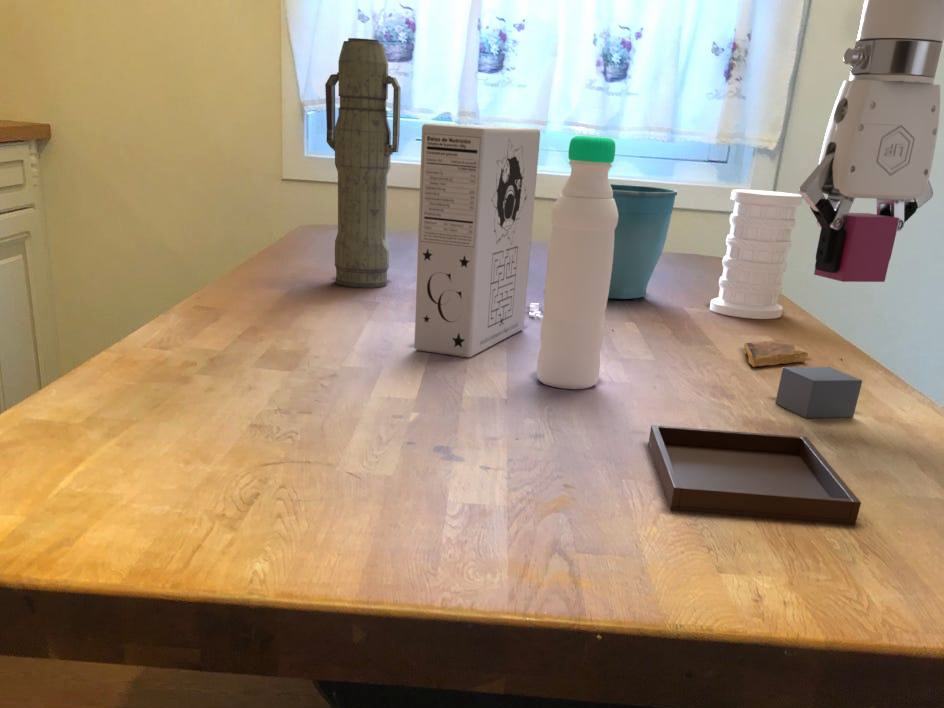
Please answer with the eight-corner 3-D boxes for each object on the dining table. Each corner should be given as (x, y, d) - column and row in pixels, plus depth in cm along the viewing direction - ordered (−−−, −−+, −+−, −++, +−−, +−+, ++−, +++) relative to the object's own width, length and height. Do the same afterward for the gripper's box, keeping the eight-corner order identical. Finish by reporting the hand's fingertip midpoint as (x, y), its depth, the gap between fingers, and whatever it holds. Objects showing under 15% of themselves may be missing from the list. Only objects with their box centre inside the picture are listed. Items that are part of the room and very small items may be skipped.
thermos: (334, 276, 169) (332, 39, 153) (401, 282, 168) (407, 43, 151) (319, 284, 162) (316, 35, 145) (389, 290, 160) (395, 39, 144)
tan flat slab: (750, 369, 124) (753, 354, 123) (707, 356, 129) (710, 342, 129) (808, 363, 129) (811, 349, 128) (765, 350, 135) (767, 337, 134)
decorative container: (789, 321, 157) (814, 198, 148) (716, 316, 157) (738, 193, 148) (771, 308, 167) (794, 192, 159) (703, 303, 167) (723, 187, 159)
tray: (801, 461, 91) (806, 436, 90) (854, 530, 76) (861, 502, 75) (647, 449, 91) (651, 424, 90) (669, 515, 76) (674, 487, 75)
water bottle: (587, 394, 108) (618, 139, 96) (527, 384, 110) (549, 134, 98) (604, 381, 114) (635, 139, 102) (547, 372, 116) (570, 134, 104)
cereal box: (473, 322, 140) (485, 125, 128) (524, 329, 138) (541, 129, 126) (413, 350, 122) (420, 123, 110) (470, 358, 120) (484, 128, 108)
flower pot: (542, 295, 165) (553, 184, 157) (573, 282, 180) (584, 180, 172) (648, 308, 159) (664, 194, 151) (671, 294, 174) (687, 189, 166)
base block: (821, 402, 111) (829, 366, 109) (853, 417, 106) (862, 380, 104) (774, 403, 109) (782, 366, 107) (805, 418, 104) (814, 380, 102)
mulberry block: (854, 274, 104) (867, 213, 101) (884, 281, 99) (899, 217, 97) (813, 274, 102) (825, 211, 99) (842, 281, 98) (856, 216, 95)
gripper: (840, 58, 87) (798, 276, 95) (997, 70, 91) (944, 277, 100) (792, 61, 93) (757, 265, 101) (942, 72, 97) (896, 267, 106)
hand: (850, 269), depth 100 cm, fingers closed on mulberry block, 5 cm apart
